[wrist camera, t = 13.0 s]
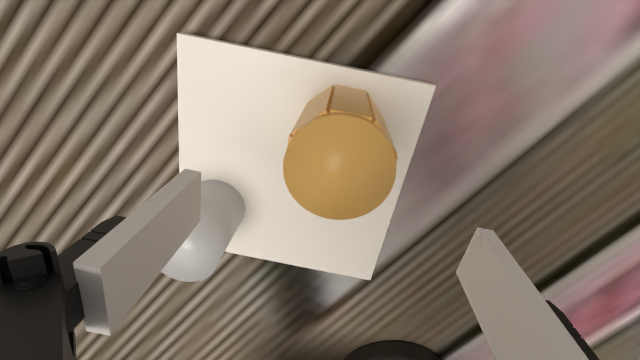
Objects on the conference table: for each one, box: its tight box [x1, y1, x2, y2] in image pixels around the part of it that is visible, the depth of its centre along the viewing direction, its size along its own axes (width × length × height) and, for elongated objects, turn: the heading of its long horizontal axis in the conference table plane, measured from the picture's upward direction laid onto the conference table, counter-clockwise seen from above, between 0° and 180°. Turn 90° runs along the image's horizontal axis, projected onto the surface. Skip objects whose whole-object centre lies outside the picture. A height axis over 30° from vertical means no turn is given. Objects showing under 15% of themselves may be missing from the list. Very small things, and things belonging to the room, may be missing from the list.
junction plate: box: [161, 33, 436, 282], centre depth 28 cm, size 22×22×10 cm
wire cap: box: [283, 84, 398, 220], centre depth 24 cm, size 7×7×10 cm
